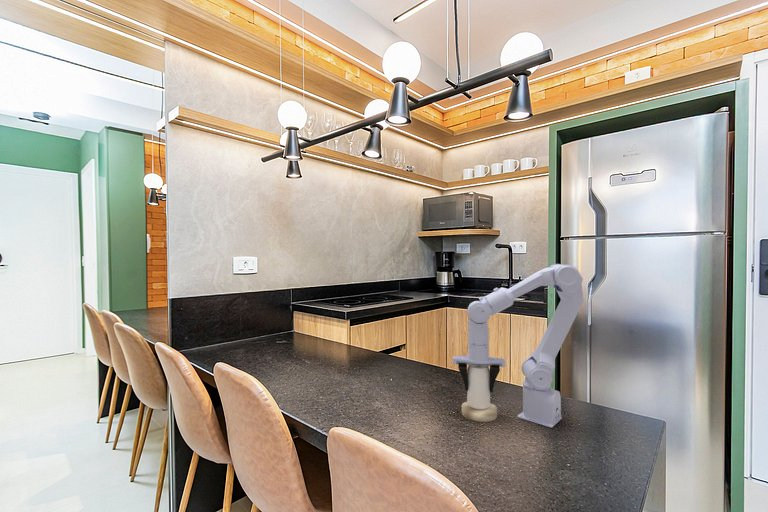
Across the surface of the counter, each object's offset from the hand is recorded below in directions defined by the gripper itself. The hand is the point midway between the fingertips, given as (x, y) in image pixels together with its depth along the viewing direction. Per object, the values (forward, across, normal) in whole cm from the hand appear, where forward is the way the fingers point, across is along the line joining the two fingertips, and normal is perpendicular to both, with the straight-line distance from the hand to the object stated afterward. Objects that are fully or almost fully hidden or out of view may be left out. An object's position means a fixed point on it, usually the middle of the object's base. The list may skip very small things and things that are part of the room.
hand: (478, 390), depth 105 cm
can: (+5, 0, -1) cm, 5 cm away
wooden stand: (+7, 0, 0) cm, 7 cm away
